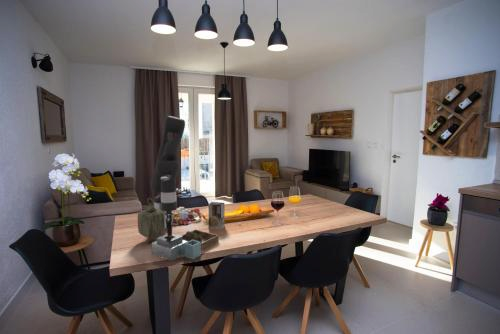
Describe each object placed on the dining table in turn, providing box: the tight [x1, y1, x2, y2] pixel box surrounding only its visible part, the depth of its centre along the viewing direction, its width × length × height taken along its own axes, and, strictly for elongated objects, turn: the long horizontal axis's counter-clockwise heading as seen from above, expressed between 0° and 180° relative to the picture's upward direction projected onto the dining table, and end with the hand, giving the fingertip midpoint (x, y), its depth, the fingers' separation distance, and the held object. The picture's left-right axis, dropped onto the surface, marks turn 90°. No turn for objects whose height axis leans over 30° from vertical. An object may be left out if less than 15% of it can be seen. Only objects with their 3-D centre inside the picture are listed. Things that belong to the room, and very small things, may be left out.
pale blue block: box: [151, 232, 188, 262], centre depth 139 cm, size 14×11×8 cm
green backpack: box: [137, 197, 166, 243], centre depth 154 cm, size 14×9×25 cm, turn 48°
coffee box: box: [207, 201, 226, 230], centre depth 179 cm, size 9×6×16 cm
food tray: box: [172, 206, 203, 226], centre depth 194 cm, size 25×24×9 cm
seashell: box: [185, 231, 203, 243], centre depth 151 cm, size 11×12×10 cm
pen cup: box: [184, 240, 202, 260], centre depth 137 cm, size 6×6×7 cm
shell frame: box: [180, 229, 220, 252], centre depth 152 cm, size 17×16×4 cm
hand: (169, 233), depth 139 cm, fingers closed
